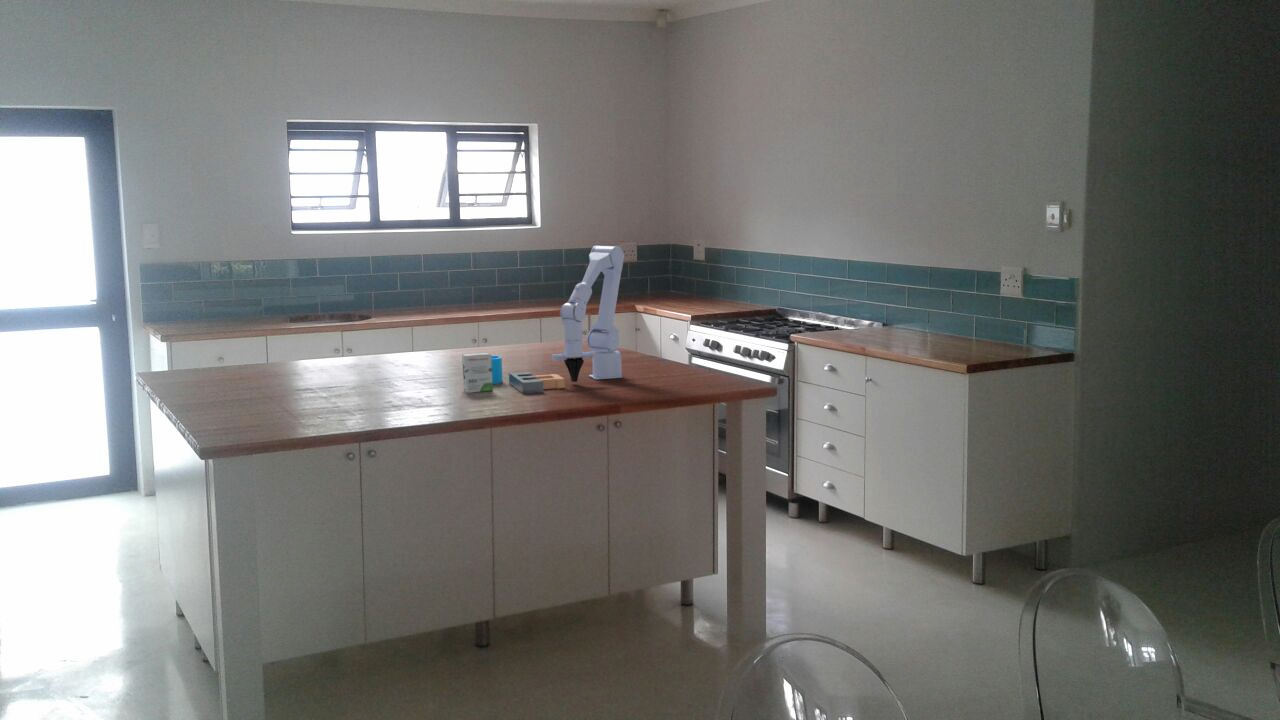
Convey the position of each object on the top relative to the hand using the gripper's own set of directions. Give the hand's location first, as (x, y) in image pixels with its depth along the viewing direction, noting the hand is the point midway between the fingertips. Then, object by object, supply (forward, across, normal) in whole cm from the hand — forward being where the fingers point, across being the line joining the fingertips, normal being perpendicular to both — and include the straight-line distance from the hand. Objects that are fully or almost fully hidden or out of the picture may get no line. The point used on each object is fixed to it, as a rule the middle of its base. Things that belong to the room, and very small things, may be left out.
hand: (574, 381), depth 368 cm
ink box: (+1, +31, -4) cm, 31 cm away
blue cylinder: (+1, +22, -20) cm, 30 cm away
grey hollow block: (+1, +16, -2) cm, 16 cm away
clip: (+1, +8, -1) cm, 8 cm away
